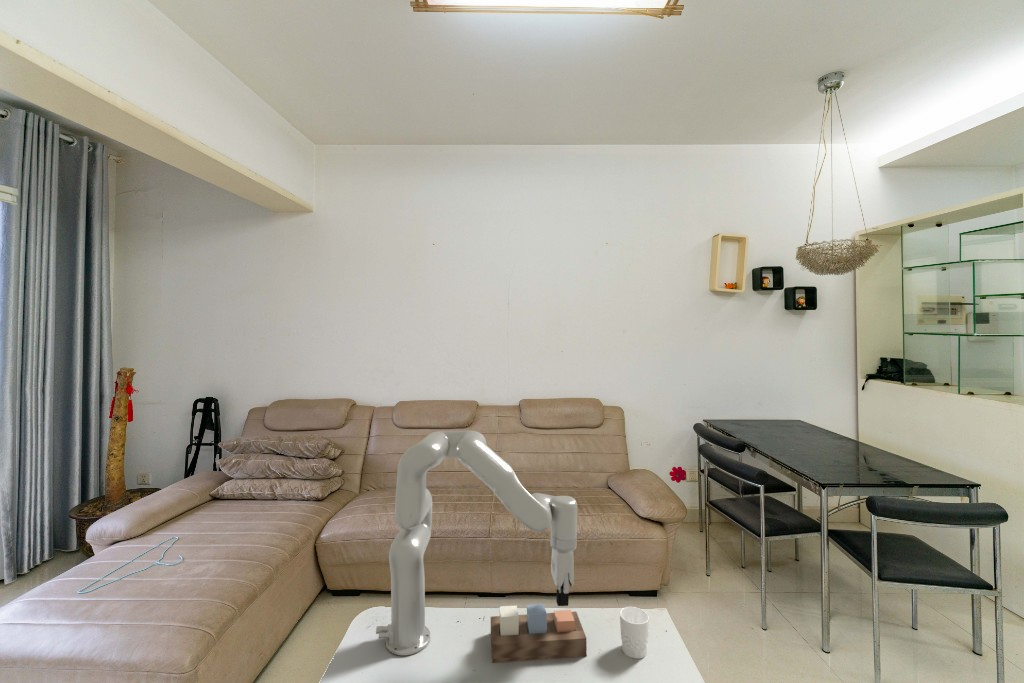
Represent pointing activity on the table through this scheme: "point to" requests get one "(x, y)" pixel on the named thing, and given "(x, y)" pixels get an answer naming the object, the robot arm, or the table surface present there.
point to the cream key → (509, 620)
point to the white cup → (634, 631)
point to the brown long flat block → (537, 642)
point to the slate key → (536, 619)
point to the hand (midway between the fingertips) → (562, 604)
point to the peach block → (564, 621)
